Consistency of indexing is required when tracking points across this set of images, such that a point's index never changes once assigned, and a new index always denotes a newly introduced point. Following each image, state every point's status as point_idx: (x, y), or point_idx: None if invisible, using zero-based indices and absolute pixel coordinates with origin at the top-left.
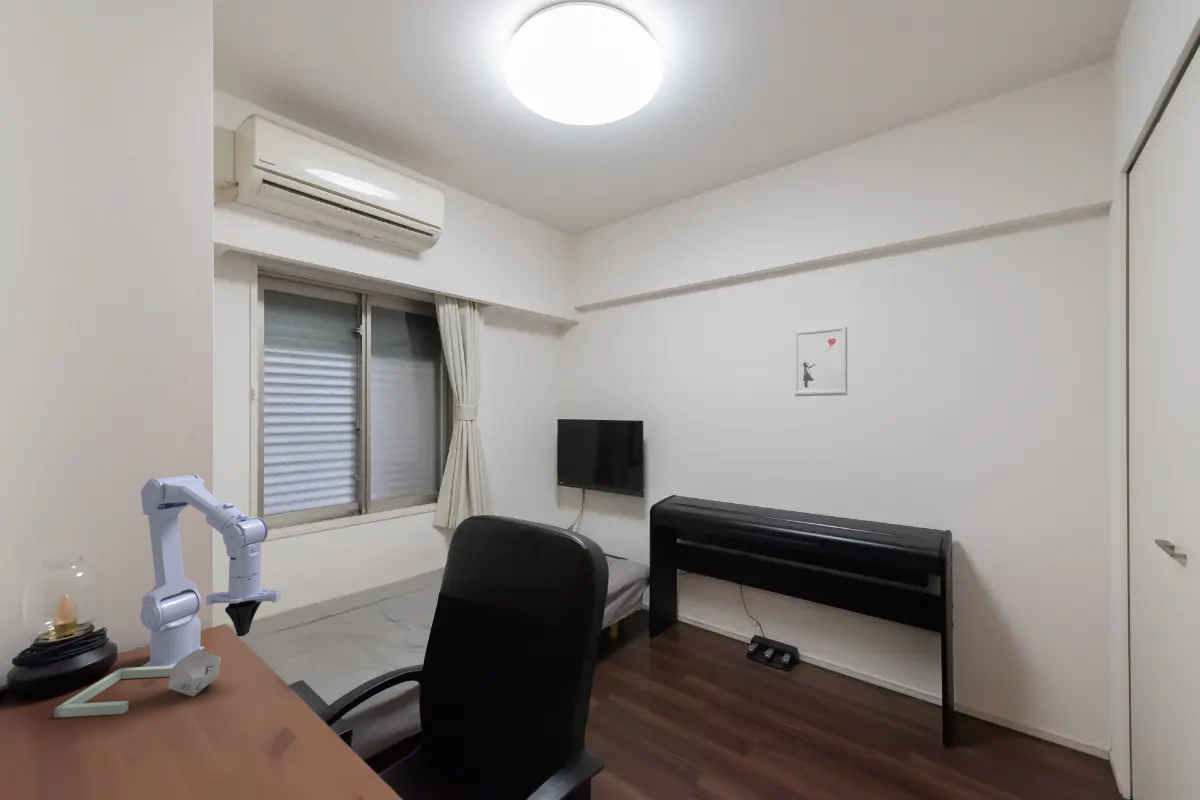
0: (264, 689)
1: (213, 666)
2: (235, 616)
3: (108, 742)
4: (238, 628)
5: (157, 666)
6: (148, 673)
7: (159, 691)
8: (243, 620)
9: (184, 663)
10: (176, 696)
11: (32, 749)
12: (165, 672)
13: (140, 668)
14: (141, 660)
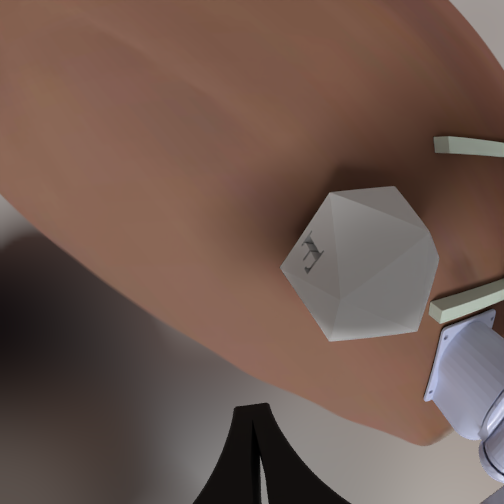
0: (121, 256)
1: (305, 274)
2: (283, 496)
3: (364, 25)
4: (260, 434)
5: (474, 310)
6: (477, 292)
7: None
8: (225, 477)
9: (403, 228)
10: None
11: (472, 46)
12: (452, 301)
13: (495, 297)
14: None
